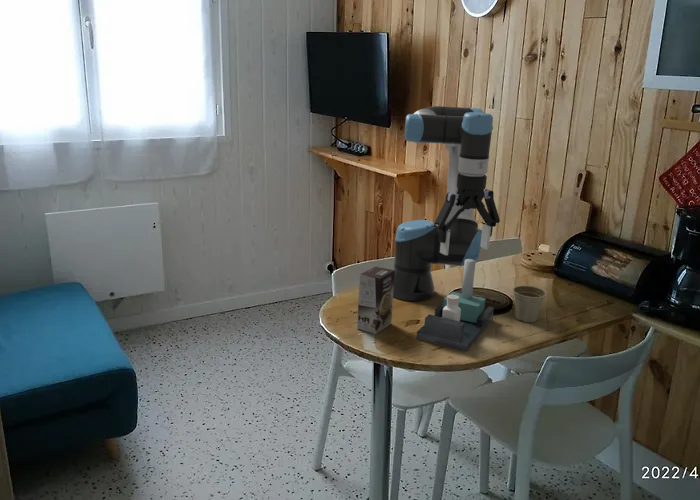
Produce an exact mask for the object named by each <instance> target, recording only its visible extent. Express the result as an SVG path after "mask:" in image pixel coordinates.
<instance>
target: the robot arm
mask: <svg viewBox="0 0 700 500" xmlns="http://www.w3.org/2000/svg"><path fill="white" fill-rule="evenodd" d="M493 119H494V118H493V115H492V114H491V113H487V112H484V111H483V109H481V108H477V107H471V106H469V107H460V106H459V107H458V106H441V105H439V106H436V105H435V106H428V107H425V108H421V109H419V110H416V111H415V112H414V113H408V114H407V115H406V116H405V126H404V140H405V141H406V142H410V143H416V144H418V143H421V144H422V143H425V144H427V143H428V144H443V145H444V148H445V149H446V150H447V152H449V153H448V172H447V174H448V175H447V193H446V195H445V201H444V203H443V205H442V207H441V209H440V211H439V212H438V215H437V217H436V219H435V221H434V222H433V221H432V220H427V219H416V220H414V219H413V220H408V221H404V222H403V223H401V224H399V225H398V226H397V229H396V233H395V234H396V236H395V238H394V239H395V240H394V241H395V248H394V249H395V250H394V263H393V270H395V276H394V290H393V298H395V299H398V300H402V301H410V302H422V301H426V300H429V299H431V298H433V297H434V296H435V285H434V280H433V277H432V272H431V271H432V270H431V269H432V264H433V265H443V266H444V265H446V266H459V267H464V263H465V259H473V260H475V261H476V263H475V265H476V264H477V263H478V260H479V258H480V257H479V256H480V252H481V248H482V249H484V250H486V251H487V250H489V248H490V241H491V240H490V239H491V237H492V236H493V228H494V227H496V226H497V224H499V223H500V222H501V219H500V216H499V212H498V210H497V206H496V204H495V203H496V202H495V200H494V199H495V198H494V196H495V195H494V194H495V193H494V191H493V190H491V189H487V180H488V176H487V173H488V168H489V159H490V148H491V142H492V141H491V140H492V134H493V133H492V132H493V130H494V126H493V125H494V122H493V121H494V120H493ZM483 199H484V202H483ZM484 203H485V204H484ZM475 209H476V210H477V212H478V214H479V215H480V217H481V218H482V220H483V221H484V223H483V224H482V226H481V227H482V228H479V223H478V222H477V220H476V219H474V214H475V213H474V212H475V211H474V210H475Z"/></svg>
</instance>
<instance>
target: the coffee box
mask: <svg viewBox="0 0 700 500" xmlns="http://www.w3.org/2000/svg"><path fill="white" fill-rule="evenodd" d="M394 276H395V270H394V269H390V268H387V267H380V266H373V267H372V268H370V269H367V270H365V271H363V272H362V273H359V285H358V286H359V288H358V290H359V291H358V307H357V319H356V320H357V322H356V329H357V330H362V331H364V332H366V333H367V332H368V333H371V334H373V335H377V334H379V333H380V332H381V331H383V330H384V329H386V328H387V327H388V326H390V325H391V324H392V322H393V321H392V318H393V306H394V305H393V304H394V303H393V301H394V297H393V290H394Z"/></svg>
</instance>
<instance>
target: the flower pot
mask: <svg viewBox="0 0 700 500" xmlns="http://www.w3.org/2000/svg"><path fill="white" fill-rule="evenodd" d="M512 293H513V295H514V306H515V307H514V309H515V310H514V312H515V314H514V316H515V318H516V320H518V321H522V322H524V323H535V322H536V321H537V320H538V318H539V314H540V311H541V307H542V303H543V301H544V300H545V298H546V296H547V292H546V291H545V290H544V289H542V288H539V287H537V286H532V285H518V286H514V287H513V288H512Z"/></svg>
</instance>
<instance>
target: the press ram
mask: <svg viewBox="0 0 700 500" xmlns="http://www.w3.org/2000/svg"><path fill="white" fill-rule="evenodd" d="M475 263H476V261H475V260H473V259H465V263H464V266H463V274H462V284H461V292H460V293H459V292H456V291H451V292H450V293H449V294H448V295H457V296H459V304H458V307H459V308H460V309H461V314H460V320H465V321H469V322H473V323H477V319H478V318H479V317H480V316H481V314H482V313H483V312H484V311H485V307H486V298H483V297H479V296H474V295H473V288H474V282H475V281H474V280H475V271H476V264H477V263H476V264H475ZM442 303H443V308H444V307H445V306H447V296H445V297H444V298H443V301H442ZM442 314H443V313H442Z"/></svg>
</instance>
